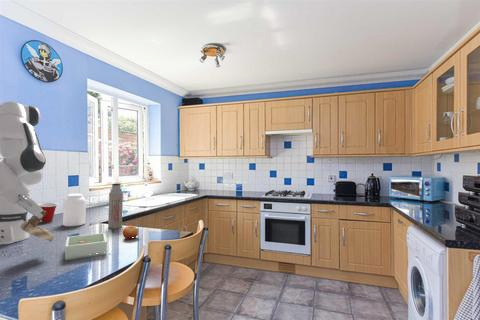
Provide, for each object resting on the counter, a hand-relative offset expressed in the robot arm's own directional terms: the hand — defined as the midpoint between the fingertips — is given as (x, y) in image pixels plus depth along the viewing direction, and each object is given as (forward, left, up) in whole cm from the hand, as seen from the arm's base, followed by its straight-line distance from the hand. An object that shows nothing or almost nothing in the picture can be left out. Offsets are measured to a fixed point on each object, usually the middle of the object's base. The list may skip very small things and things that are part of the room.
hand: (39, 215), depth 115 cm
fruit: (+39, +12, -18) cm, 45 cm away
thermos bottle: (+34, +42, -18) cm, 57 cm away
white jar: (+11, +60, -18) cm, 63 cm away
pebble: (+17, +2, -15) cm, 23 cm away
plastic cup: (-5, +76, -18) cm, 78 cm away
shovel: (-1, 0, -8) cm, 8 cm away
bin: (+18, -1, -18) cm, 26 cm away
